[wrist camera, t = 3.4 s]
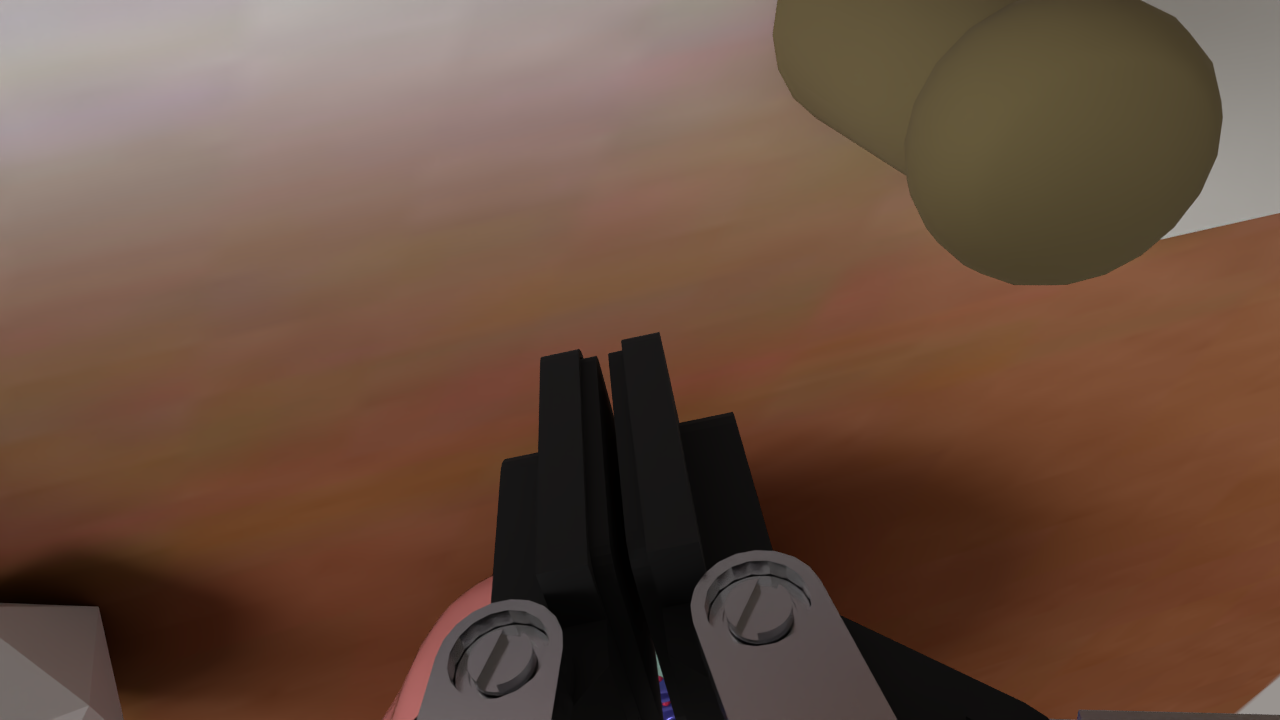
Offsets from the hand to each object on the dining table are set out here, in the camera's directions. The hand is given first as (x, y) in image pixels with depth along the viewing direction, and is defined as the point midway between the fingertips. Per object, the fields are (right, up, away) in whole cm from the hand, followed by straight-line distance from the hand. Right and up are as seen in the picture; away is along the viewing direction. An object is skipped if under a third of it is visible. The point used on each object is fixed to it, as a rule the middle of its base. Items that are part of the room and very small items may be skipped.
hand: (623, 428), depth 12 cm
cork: (+7, +10, +11) cm, 17 cm away
